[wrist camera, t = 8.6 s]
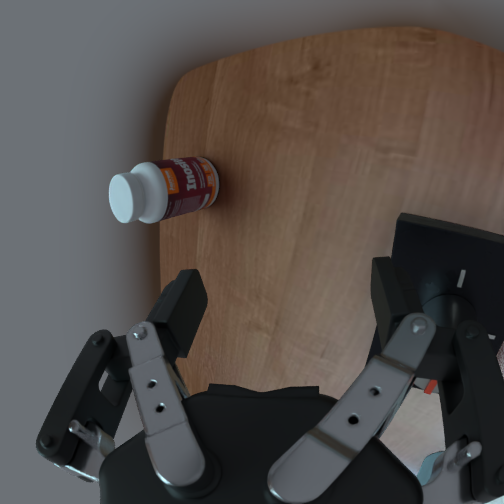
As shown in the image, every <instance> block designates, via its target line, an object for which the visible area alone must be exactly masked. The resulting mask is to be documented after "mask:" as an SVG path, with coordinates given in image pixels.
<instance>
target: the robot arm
mask: <svg viewBox="0 0 504 504" xmlns="http://www.w3.org/2000/svg"><path fill="white" fill-rule="evenodd" d="M371 299H372V304H373V308H374V313H375V317H376V322H377V327H378V332H379V337H380V343H381V348H382V352H381V353H380V354H379V355H378V354H375V355H374V356H373V357H372V359H371V360H370V361H369V363H368V364H367V365H366V367H365V368H364V369H363V371H362V372H361V373H360V375H359V376H358V377H357V378H356V380H355V381H354V382H353V383H352V385H351V386H350V387H349V388H348V390H347V391H346V392H345V393H344V395H343V396H342V397H341V398H340V399H339V400H337V399H335V398H333V397H330V396H327V395H323V394H319V386H304V387H287V388H282V389H278V390H273V391H268V392H257V391H253V390H249V389H246V388H242V387H239V386H236V385H223V384H209V387H208V390H207V391H204V392H200V393H197V394H194V395H192V396H191V395H190V393H189V391H188V389H187V387H186V385H185V382H184V380H183V378H182V376H181V373H180V371H179V369H178V366H177V364H176V363H175V361H176V359H177V357H180V358H187V355H188V353H189V350H190V348H191V345H192V343H193V340H194V337H195V335H196V332H197V330H198V327H199V325H200V322H201V320H202V317H203V315H204V312H205V310H206V307H207V303H208V298H207V293H206V290H205V287H204V285H203V282H202V279H201V276H200V273H199V271H198V270H197V269H189V270H181V271H180V273H179V274H178V276H177V278H176V280H173V281H171V282H170V283H169V284H168V285H167V286H166V287H165V288H164V290H163V292H162V293H161V296H160V297H159V298H158V300H157V302H156V303H155V305H154V307H153V309H152V310H151V312H150V314H149V316H148V317H147V319H146V321H145V322H140V323H137V324H136V325H134V326H132V327H131V328H130V329H129V331H128V332H127V335H123V336H118V337H113V336H112V334H111V333H110V332H109V331H108V330H99V331H97V332H95V333H94V334H93V335H91V336H90V338H89V339H88V341H87V342H86V344H85V346H84V348H83V349H82V351H81V353H80V355H79V356H78V358H77V360H76V361H75V363H74V365H73V367H72V369H71V370H70V372H69V374H68V376H67V378H66V380H65V382H64V383H63V385H62V387H61V389H60V391H59V393H58V395H57V397H56V399H55V401H54V403H53V405H52V407H51V409H50V411H49V413H48V415H47V417H46V419H45V421H44V423H43V426H42V428H41V430H40V432H39V434H38V437H37V440H36V448H37V451H38V453H39V454H40V455H41V456H43V457H45V458H46V459H47V460H49V461H51V462H52V463H53V464H55V465H56V466H58V467H59V468H61V469H62V470H64V471H66V472H68V473H69V474H71V475H73V476H76V477H78V478H80V479H82V480H84V481H86V482H97V483H99V486H100V504H486V503H488V502H490V501H493V500H495V499H497V498H500V497H502V496H504V379H503V376H502V372H501V369H500V366H499V363H498V360H497V357H496V354H495V352H494V349H493V346H492V343H491V341H490V338H489V336H488V333H487V331H486V329H485V327H484V326H483V325H482V324H481V323H479V322H478V321H475V320H464V321H462V322H460V323H459V324H458V326H457V328H456V329H454V328H447V327H441V326H437V325H436V324H435V322H434V320H433V319H432V318H431V317H430V316H428V315H426V314H425V313H424V311H423V308H422V305H421V303H420V300H419V298H418V295H417V293H416V290H415V288H414V285H413V283H412V281H411V278H410V276H409V274H408V273H407V272H406V271H405V270H404V269H403V268H402V267H394V266H393V264H392V261H391V259H390V257H389V256H388V257H375V258H373V260H372V273H371ZM104 371H106V372H107V373H108V374H109V375H108V377H107V379H106V381H105V383H104V385H103V387H102V390H101V392H100V390H99V381H100V379H101V377H102V374H103V373H104ZM417 378H423V379H430V380H437V384H438V390H439V396H440V403H441V410H442V417H443V426H444V435H445V447H446V450H445V451H444V452H443V453H441V454H440V455H439V456H438V457H437V458H436V460H435V462H434V464H433V467H432V474H431V477H430V479H429V480H428V482H427V483H426V484H425V485H423V486H421V484H420V482H419V480H418V479H417V477H416V476H415V475H414V474H413V473H412V472H411V471H410V470H409V469H408V468H407V467H406V466H405V465H404V464H403V463H402V462H401V461H400V460H399V459H398V458H397V457H396V456H395V455H394V454H393V453H392V452H391V451H390V450H389V449H388V448H387V447H386V446H385V445H384V444H383V443H382V442H381V441H380V440H379V438H380V437H381V436H382V434H383V433H384V431H385V430H386V429H387V427H388V426H389V424H390V422H391V421H392V419H393V418H394V416H395V414H396V412H397V411H398V409H399V408H400V406H401V404H402V403H403V401H404V399H405V398H406V396H407V394H408V393H409V391H410V389H411V388H412V386H413V384H414V382H415V381H416V379H417ZM132 389H133V392H134V396H135V399H136V403H137V407H138V410H139V414H140V417H141V421H142V424H143V427H144V430H142V431H141V432H139V433H138V434H136V435H135V436H134V437H132V438H131V439H129V440H128V441H126V442H125V443H124V444H122V445H121V446H119V447H118V448H116V449H115V442H114V440H113V439H114V436H115V433H116V431H117V428H118V426H119V423H120V420H121V418H122V415H123V412H124V410H125V407H126V405H127V402H128V399H129V397H130V394H131V392H132Z"/></svg>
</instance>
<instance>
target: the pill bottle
mask: <svg viewBox="0 0 504 504" xmlns="http://www.w3.org/2000/svg"><path fill="white" fill-rule="evenodd" d="M218 190H219V178H218V174H217V172H216V169H215V168H214V166H213V165H212V164H211V163H210V162H209V161H208V160H207V159H205V158H202V157H187V158H178V159H169V160H160V161H152V162H146V163H140V164H138V165H137V166H135V167H134V168H133V169H132V171H131V172H130V173H122V174H118V175H115V176H114V177H113V178H112V180H111V182H110V187H109V201H110V205H111V208H112V211H113V213H114V215H115V217H116V218H117V219H118V220H119V221H120V222H122V223H128V222H131V221H135V220H137V219H139V220H140V221H142V222H145V223H154V222H158V221H161V220H165V219H168V218H171V217H175V216H178V215H182V214H186V213H189V212H193V211H197V210H201V209H204V208H206V207H208V206H210V205H211V204H212V203H213V202H214V201H215V199H216V197H217V194H218Z"/></svg>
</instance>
